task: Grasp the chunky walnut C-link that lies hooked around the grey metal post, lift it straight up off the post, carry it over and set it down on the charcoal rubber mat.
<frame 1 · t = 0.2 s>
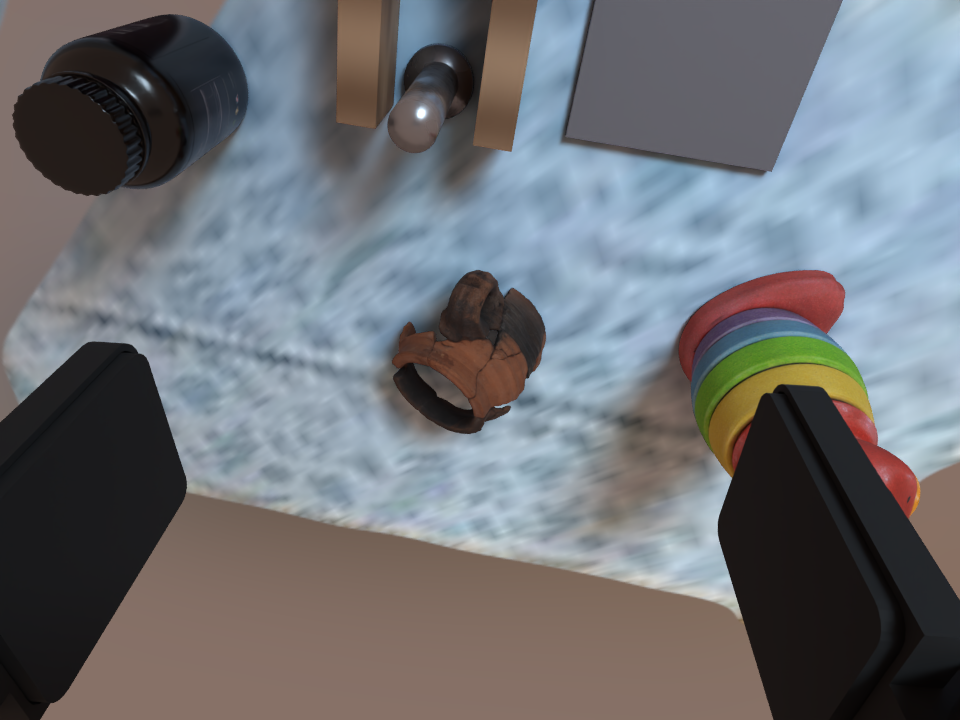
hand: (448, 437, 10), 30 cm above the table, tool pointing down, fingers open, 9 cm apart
pottery mug: (475, 320, 45), on the table
supplement bottle: (195, 79, 37), on the table
post: (439, 81, 35), on the table
stacking bear: (750, 339, 44), on the table
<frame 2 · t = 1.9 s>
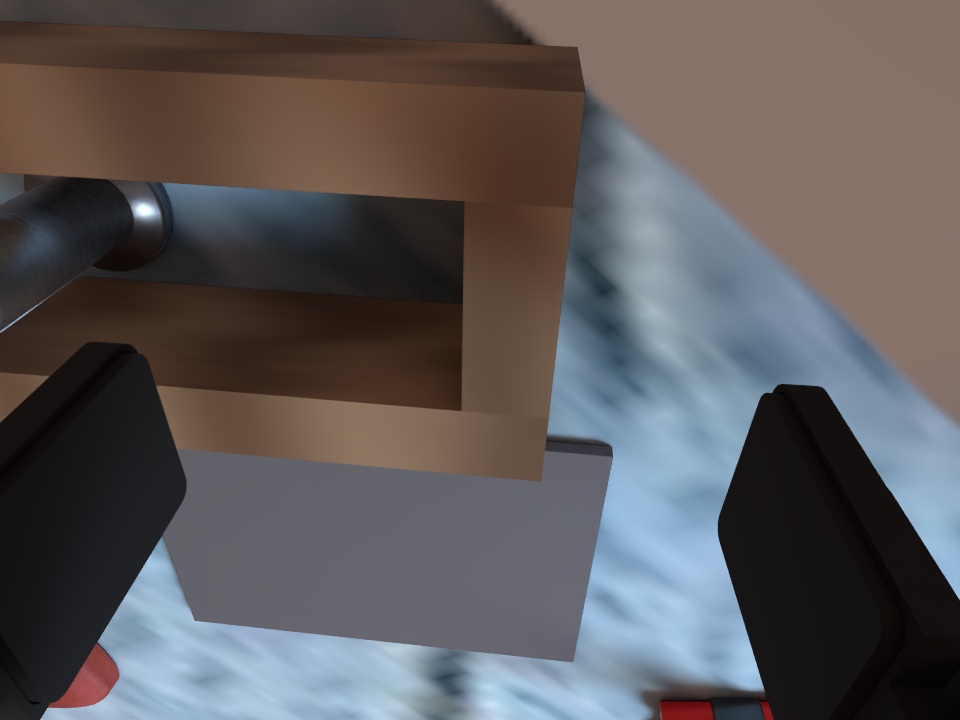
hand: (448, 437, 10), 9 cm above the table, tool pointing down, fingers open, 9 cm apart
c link: (306, 214, 18), on the table
mat: (373, 541, 25), on the table
post: (106, 201, 18), on the table
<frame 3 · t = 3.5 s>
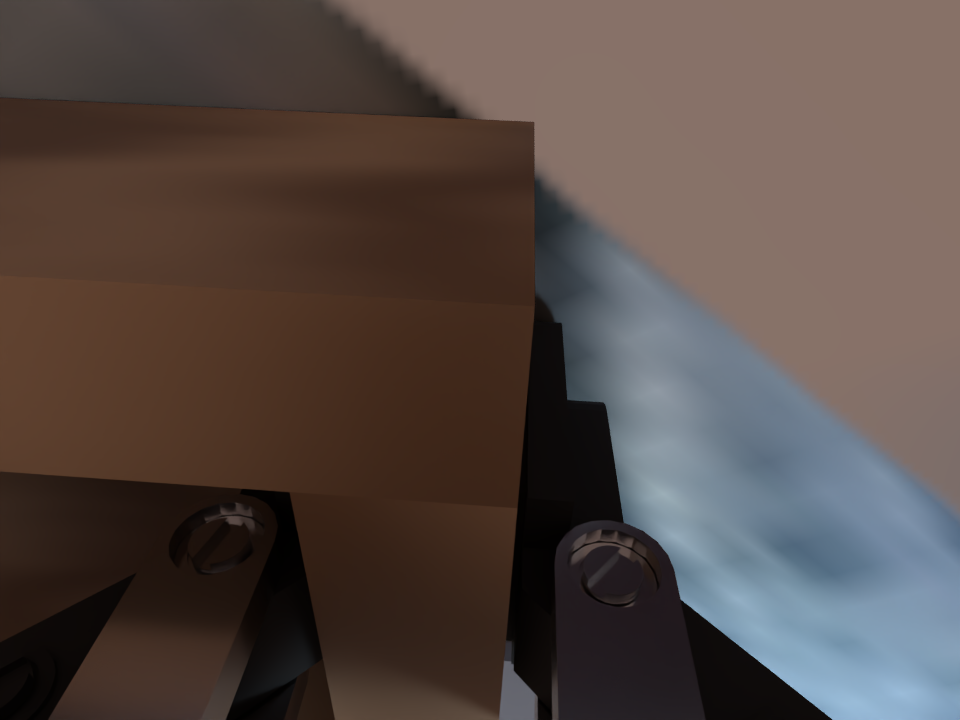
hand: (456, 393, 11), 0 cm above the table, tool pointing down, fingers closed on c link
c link: (121, 366, 11), on the table, touching gripper
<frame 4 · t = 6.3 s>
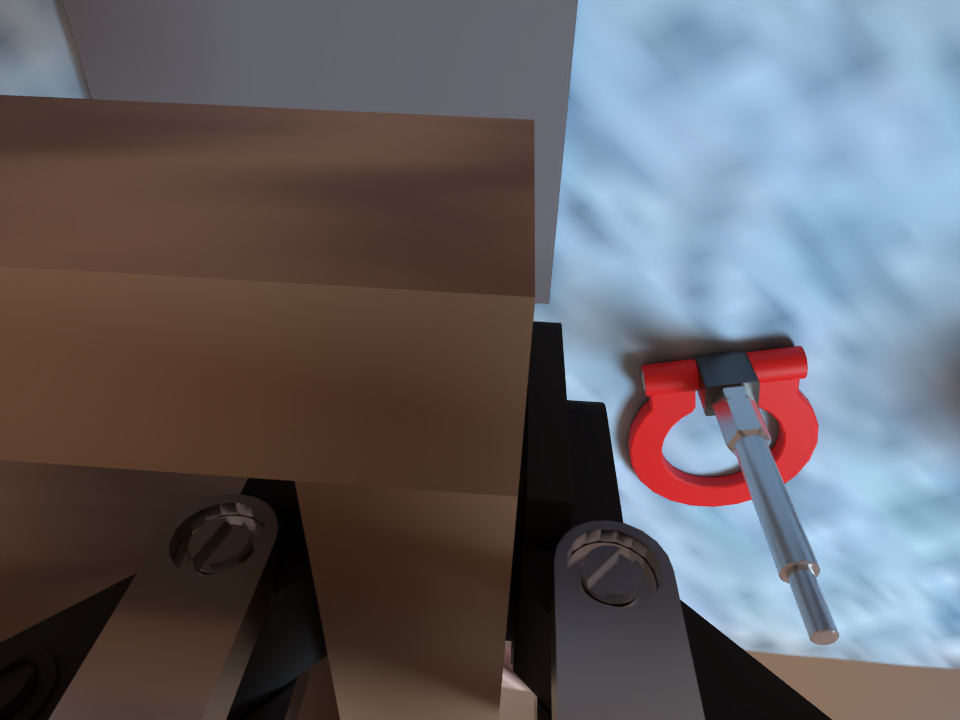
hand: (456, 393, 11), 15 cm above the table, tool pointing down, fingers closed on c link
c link: (125, 361, 11), point 15 cm above the table, touching gripper
mat: (333, 144, 24), on the table
tow hook: (716, 424, 30), on the table
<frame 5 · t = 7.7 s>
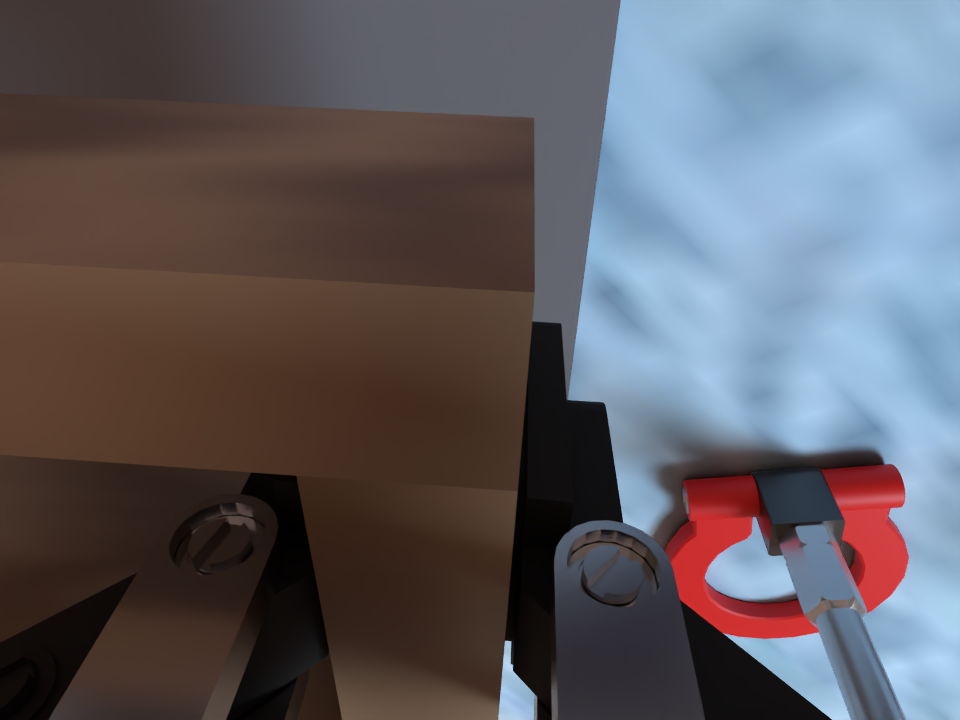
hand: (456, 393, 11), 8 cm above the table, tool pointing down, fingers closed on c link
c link: (127, 358, 11), point 7 cm above the table, touching gripper
mat: (279, 205, 18), on the table
tow hook: (773, 544, 24), on the table
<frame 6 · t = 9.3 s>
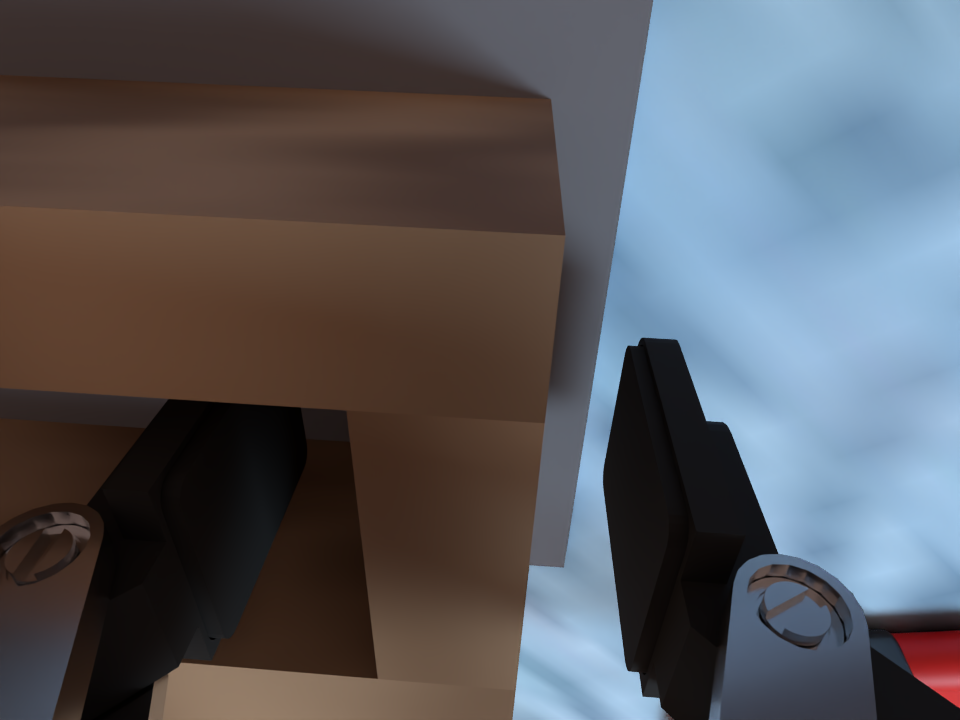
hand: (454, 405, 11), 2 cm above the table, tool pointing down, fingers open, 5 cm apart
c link: (163, 331, 12), resting on mat
mat: (163, 320, 13), on the table
tow hook: (823, 703, 19), on the table
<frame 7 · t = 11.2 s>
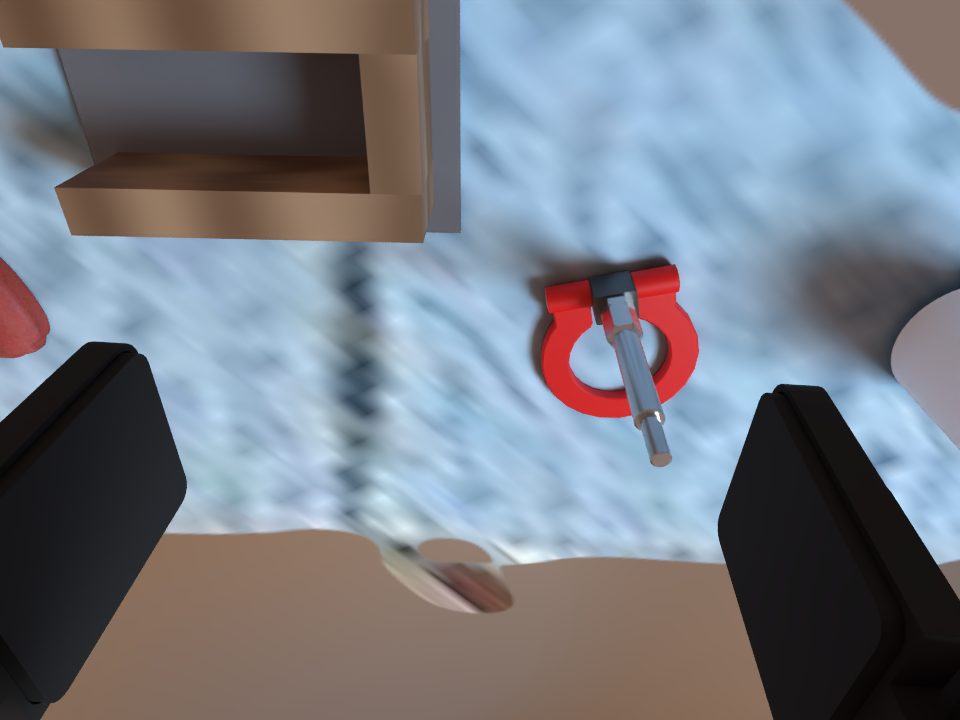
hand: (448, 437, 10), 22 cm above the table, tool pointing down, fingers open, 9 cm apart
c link: (270, 97, 28), resting on mat
mat: (268, 96, 28), on the table
tow hook: (615, 341, 35), on the table
can: (952, 334, 34), on the table
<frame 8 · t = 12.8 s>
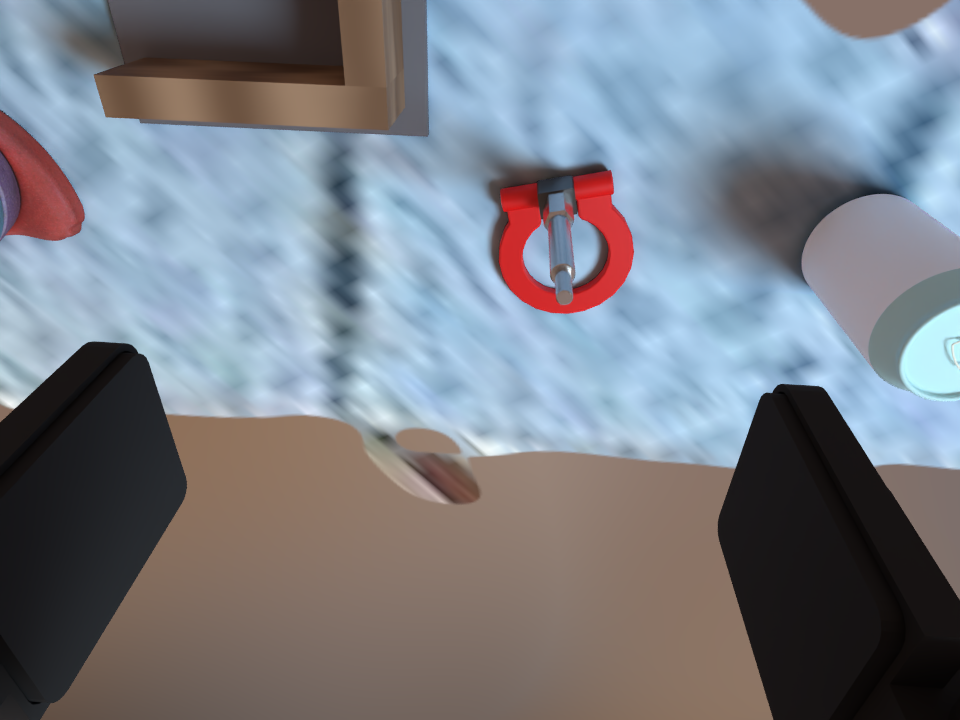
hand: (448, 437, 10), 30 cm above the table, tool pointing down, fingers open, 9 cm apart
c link: (270, 11, 34), resting on mat
mat: (269, 12, 34), on the table
tow hook: (564, 243, 41), on the table
can: (857, 244, 39), on the table
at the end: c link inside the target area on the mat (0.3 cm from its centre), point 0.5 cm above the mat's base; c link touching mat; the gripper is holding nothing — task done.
